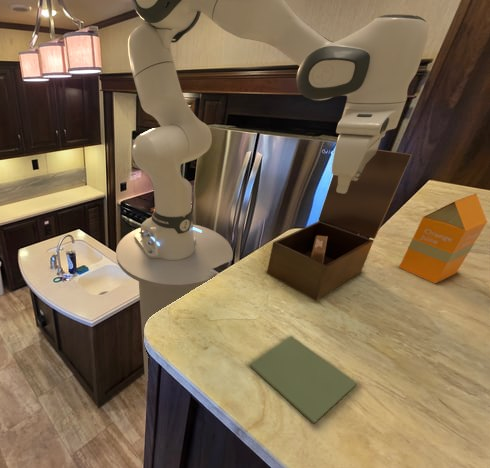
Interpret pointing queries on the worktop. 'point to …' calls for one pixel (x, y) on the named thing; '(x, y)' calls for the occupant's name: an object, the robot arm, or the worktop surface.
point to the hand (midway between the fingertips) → (347, 185)
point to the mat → (303, 378)
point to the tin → (319, 248)
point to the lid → (366, 195)
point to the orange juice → (444, 239)
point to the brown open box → (311, 271)
